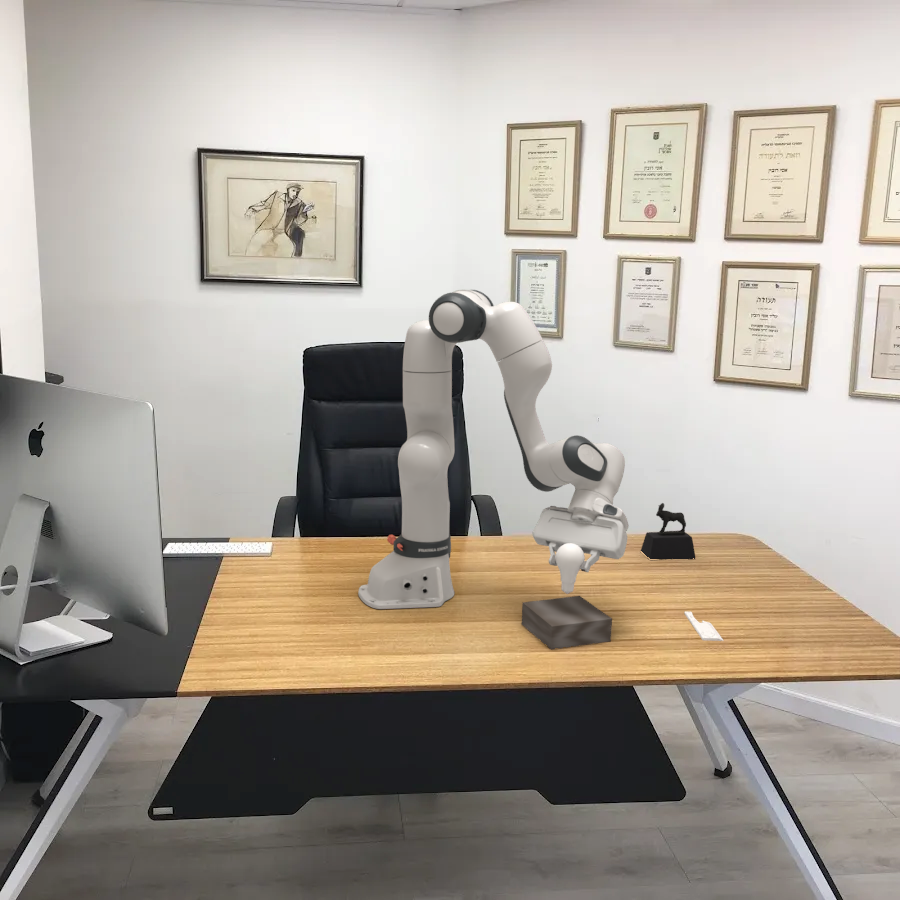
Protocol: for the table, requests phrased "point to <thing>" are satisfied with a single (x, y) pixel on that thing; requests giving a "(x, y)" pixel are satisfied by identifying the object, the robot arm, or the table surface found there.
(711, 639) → the white plastic blade
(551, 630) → the charcoal block
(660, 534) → the sculpture
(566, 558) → the lightbulb
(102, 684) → the table surface
